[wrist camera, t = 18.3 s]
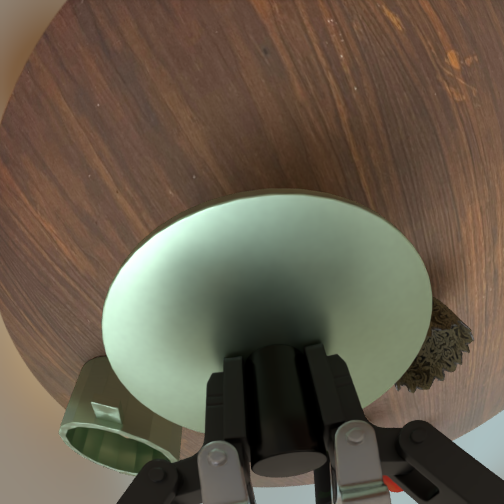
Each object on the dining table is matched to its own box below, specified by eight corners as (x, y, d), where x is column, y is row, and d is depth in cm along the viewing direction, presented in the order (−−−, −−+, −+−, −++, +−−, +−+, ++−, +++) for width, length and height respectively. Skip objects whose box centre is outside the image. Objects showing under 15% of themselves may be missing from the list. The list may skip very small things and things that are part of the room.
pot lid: (123, 406, 15) (105, 493, 10) (108, 151, 9) (-7, 227, 4) (348, 421, 17) (368, 497, 12) (466, 227, 11) (555, 307, 6)
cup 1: (337, 441, 40) (352, 507, 29) (294, 440, 38) (304, 513, 28) (366, 416, 37) (389, 489, 26) (321, 414, 35) (339, 496, 24)
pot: (94, 416, 34) (81, 467, 27) (67, 326, 26) (35, 391, 19) (182, 434, 36) (177, 488, 29) (189, 350, 28) (181, 427, 20)
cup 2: (443, 285, 26) (486, 339, 19) (398, 339, 29) (428, 397, 22) (397, 256, 24) (445, 316, 17) (347, 319, 27) (375, 387, 20)
